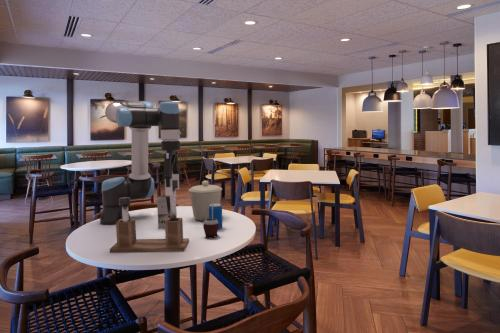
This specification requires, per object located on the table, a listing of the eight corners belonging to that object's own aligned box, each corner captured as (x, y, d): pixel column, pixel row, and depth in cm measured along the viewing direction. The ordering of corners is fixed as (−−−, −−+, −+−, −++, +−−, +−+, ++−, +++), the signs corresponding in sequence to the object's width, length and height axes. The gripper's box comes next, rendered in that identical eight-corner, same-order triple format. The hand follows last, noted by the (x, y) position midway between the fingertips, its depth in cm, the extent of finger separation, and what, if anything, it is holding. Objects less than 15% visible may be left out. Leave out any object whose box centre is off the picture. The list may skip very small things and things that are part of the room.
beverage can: (210, 226, 175) (210, 203, 174) (223, 227, 175) (222, 203, 173) (208, 230, 169) (207, 206, 168) (221, 230, 168) (220, 206, 167)
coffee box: (169, 229, 173) (168, 197, 171) (157, 228, 174) (156, 196, 172) (177, 224, 181) (176, 193, 180) (165, 223, 183) (164, 193, 181)
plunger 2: (169, 223, 148) (168, 179, 146) (180, 222, 148) (178, 179, 146) (167, 225, 144) (165, 181, 142) (178, 225, 144) (176, 181, 142)
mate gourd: (208, 240, 155) (207, 206, 153) (200, 235, 161) (199, 203, 159) (222, 236, 159) (222, 204, 157) (214, 232, 165) (213, 201, 164)
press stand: (120, 242, 153) (118, 217, 151) (189, 241, 153) (188, 215, 152) (109, 252, 141) (108, 224, 140) (184, 251, 141) (183, 223, 140)
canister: (187, 216, 197) (186, 179, 195) (218, 213, 203) (217, 177, 201) (192, 224, 180) (191, 184, 178) (226, 221, 186) (225, 181, 184)
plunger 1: (123, 240, 149) (121, 197, 147) (133, 239, 149) (131, 196, 147) (119, 243, 144) (117, 199, 142) (130, 243, 144) (128, 199, 142)
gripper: (173, 141, 130) (175, 197, 132) (185, 139, 154) (186, 186, 157) (153, 141, 130) (155, 198, 132) (168, 139, 154) (170, 187, 157)
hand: (172, 192), depth 144 cm, fingers open, 13 cm apart
